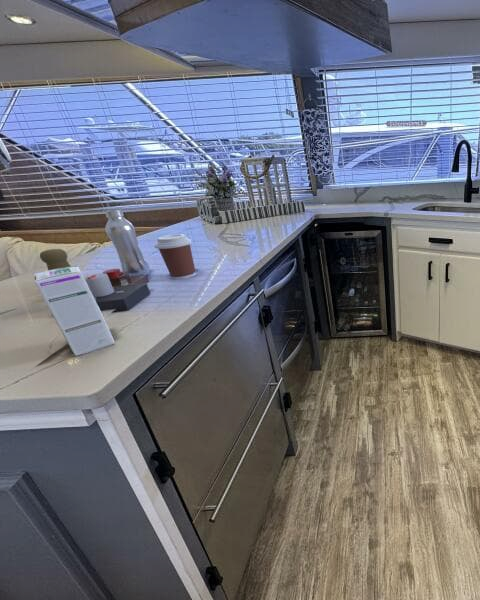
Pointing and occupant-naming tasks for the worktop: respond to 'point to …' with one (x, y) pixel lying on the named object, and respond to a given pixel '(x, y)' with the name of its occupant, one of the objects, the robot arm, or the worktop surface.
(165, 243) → the coffee cup
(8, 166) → the robot arm
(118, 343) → the worktop surface
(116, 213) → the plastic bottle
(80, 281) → the syrup box
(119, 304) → the panel
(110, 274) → the ignition button
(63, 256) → the cork
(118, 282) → the ignition block
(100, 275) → the stove knob
